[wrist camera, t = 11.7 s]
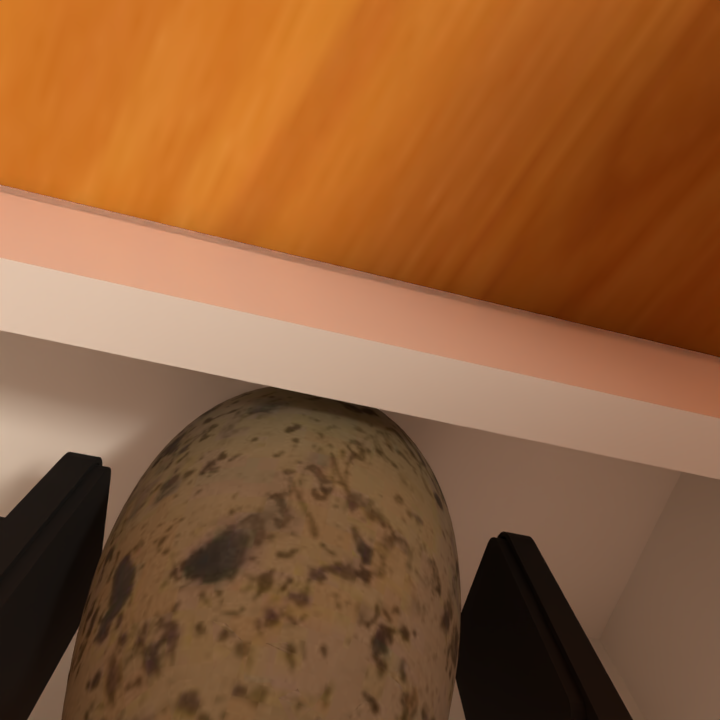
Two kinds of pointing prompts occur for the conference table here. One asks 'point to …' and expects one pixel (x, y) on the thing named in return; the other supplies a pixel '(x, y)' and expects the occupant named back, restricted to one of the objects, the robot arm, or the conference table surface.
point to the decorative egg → (275, 575)
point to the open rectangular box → (395, 399)
